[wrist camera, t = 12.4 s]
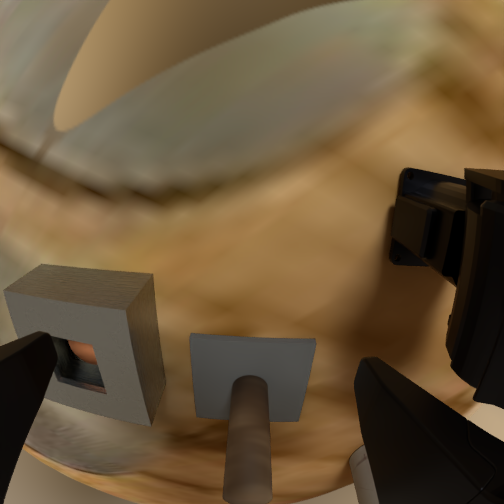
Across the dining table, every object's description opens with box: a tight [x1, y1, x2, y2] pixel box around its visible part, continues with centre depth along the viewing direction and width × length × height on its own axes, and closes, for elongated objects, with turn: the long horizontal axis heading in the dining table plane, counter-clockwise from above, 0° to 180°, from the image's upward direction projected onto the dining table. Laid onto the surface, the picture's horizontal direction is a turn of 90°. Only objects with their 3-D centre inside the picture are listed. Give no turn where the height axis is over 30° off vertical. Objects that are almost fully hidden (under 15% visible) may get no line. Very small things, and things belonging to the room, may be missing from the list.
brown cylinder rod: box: [223, 375, 272, 504], centre depth 17 cm, size 3×3×10 cm
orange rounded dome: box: [68, 340, 97, 365], centre depth 20 cm, size 3×3×2 cm
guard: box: [3, 264, 166, 427], centre depth 19 cm, size 10×10×5 cm
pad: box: [190, 333, 316, 422], centre depth 22 cm, size 9×9×1 cm
